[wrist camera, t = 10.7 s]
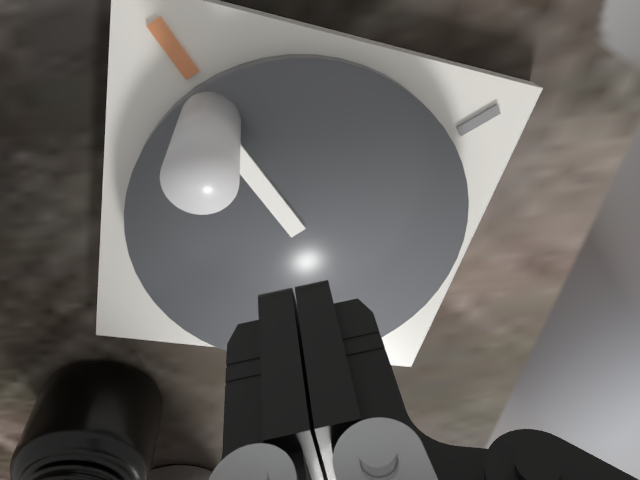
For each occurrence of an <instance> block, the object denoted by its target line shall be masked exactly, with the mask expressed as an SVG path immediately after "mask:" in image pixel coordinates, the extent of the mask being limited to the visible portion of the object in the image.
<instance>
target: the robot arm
mask: <svg viewBox="0 0 640 480" xmlns="http://www.w3.org/2000/svg"><path fill="white" fill-rule="evenodd" d="M295 294H296V299H295V296H294V292H293V289H292V288H288V289H283V290H279V291H274V292H269V293H265V294H260V295H258V316H259V320H255V321H250V322H245V323H241V324H238V325H237V327H236V328H235V330H234V332H233V334H232V336H231V338H230V340H229V341H228V343H227V360H226V365H227V368H226V386H225V407H224V431H223V452H222V459H221V462H220V463H219V464H218V465H217V466H216V468H215V469H214V470H213V472H211V471H209V470H207V469H204V468H200V467H196V466H187V465H173V466H166V467H161V468H157V469H154V470H151V473H150V477H149V480H638V479H636V478H634V477H633V476H631V475H629V474H627V473H625V472H623V471H621V470H619V469H617V468H615V467H614V466H612V465H610V464H608V463H606V462H604V461H602V460H601V459H599V458H597V457H595V456H593V455H591V454H589V453H587V452H585V451H584V450H582V449H580V448H578V447H576V446H574V445H572V444H570V443H568V442H567V441H565V440H563V439H561V438H559V437H557V436H555V435H552V434H550V433H547V432H543V431H539V430H533V429H520V430H515V431H510V432H508V433H506V434H503V435H501V436H500V437H499V438H497V439H496V440H495V441H494V442H493V443H492V444H491V446H490V447H489V449H483V448H472V447H461V446H453V445H448V444H444V443H441V442H438V441H436V440H434V439H431V438H430V437H428V436H426V435H425V434H424V433H422V432H421V431H420V430H419V429H418V428H417V427H416V426H415V425H414V424H413V423H412V421H411V420H410V418H409V416H408V414H407V412H406V409H405V406H404V403H403V400H402V397H401V394H400V391H399V388H398V385H397V382H396V379H395V376H394V373H393V370H392V367H391V364H390V361H389V358H388V356H387V353H386V351H385V347H384V344H383V341H382V338H381V335H380V332H379V329H378V326H377V323H376V320H375V317H374V314H373V312H372V311H371V310H370V309H369V308H368V307H367V306H366V305H365V304H363V303H362V302H361V301H360V300H359V299H358V298H357V299H352V300H347V301H343V302H338V303H333V298H332V294H331V290H330V286H329V282H328V280H325V281H320V282H316V283H311V284H306V285H301V286H297V287H295ZM296 301H297V303H296Z"/></svg>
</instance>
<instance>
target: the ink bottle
mask: <svg viewBox="0 0 640 480" xmlns="http://www.w3.org/2000/svg"><path fill="white" fill-rule="evenodd" d="M161 411H162V399H161V395H160V392H159V390H158V388H157V386H156V385H155V384H154V383H153V382H152V381H151V380H150V379H149V378H148V377H147V376H145V375H144V374H142V373H140V372H138V371H136V370H134V369H131V368H129V367H126V366H123V365H119V364H114V363H108V362H82V363H77V364H73V365H70V366H67V367H65V368H63V369H61V370H59V371H58V372H56V373H55V374H54V375H53V376H52V377H51V378H50V379H49V380H48V381H47V382H46V383H45V385H44V386H43V388H42V390H41V392H40V394H39V397H38V399H37V401H36V403H35V406H34V408H33V410H32V412H31V415H30V417H29V419H28V422H27V424H26V426H25V428H24V431H23V433H22V435H21V437H20V440H19V442H18V444H17V447H16V449H15V451H14V454H13V456H12V459H11V463H10V478H11V480H149V477H150V473H151V469H152V463H153V457H154V452H155V446H156V440H157V434H158V429H159V423H160V417H161Z"/></svg>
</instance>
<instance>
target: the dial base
mask: <svg viewBox="0 0 640 480" xmlns="http://www.w3.org/2000/svg"><path fill="white" fill-rule="evenodd" d="M287 54H316V55H323V56H330V57H337V58H342V59H345V60H349V61H352V62H356V63H359V64H363V65H365V66H367V67H370V68H372V69H374V70H376V71H378V72H381V73H383V74H385V75H387V76H388V77H390V78H391V79H393V80H394V81H396V82H398V83H399V84H401V85H402V86H404V87H405V88H406V89H407V90H409V91H410V92H411V93H412V94H413V95H414V96H415V97H417V98H418V99H419V100H420V101H421V102H422V103H423V104H424V105H425V106H426V107H427V108H428V109H429V110H430V111H431V112H432V114H433V115H434V116H435V117H436V118H437V119H438V121H439V122H440V123H441V124H442V125H443V127H444V128H445V130H446V131H447V133H448V135H449V136H450V138H451V140H452V141H453V143H454V145H455V147H456V149H457V151H458V154H459V156H460V159H461V161H462V164H463V168H464V172H465V176H466V180H467V186H468V198H469V208H468V222H467V227H466V232H465V236H464V241H463V244H462V246H461V249H460V252H459V255H458V258H457V260H456V262H455V264H454V265H453V267H452V269H451V271H450V273H449V275H448V277H447V278H446V279H445V281H444V282H443V284H442V285H441V287H440V288H439V290H438V291H437V292H436V293H435V294H434V296H433V297H432V298H431V299H430V300H429V301H428V303H427V304H426V305H425V306H424V307H423V308H421V309H420V310H419V311H418V312H417V313H416V314H415V315H414V316H413V317H412V318H410V319H409V320H408V321H406V322H405V323H404V324H402V325H401V326H400V327H398V328H397V329H395V330H393V331H392V332H390V333H389V334H387V335H385V336H384V337H382V341H383V344H384V347H385V351H386V353H387V356H388V358H389V361H390V364H391V365H398V366H408V367H411V366H412V364H413V362H414V359H415V357H416V355H417V353H418V351H419V349H420V347H421V345H422V343H423V340H424V338H425V336H426V334H427V332H428V330H429V328H430V326H431V324H432V321H433V319H434V317H435V315H436V313H437V311H438V309H439V307H440V304H441V302H442V300H443V298H444V296H445V294H446V292H447V290H448V288H449V285H450V283H451V281H452V279H453V277H454V275H455V273H456V271H457V269H458V266H459V264H460V262H461V260H462V258H463V256H464V254H465V252H466V250H467V247H468V245H469V243H470V241H471V239H472V237H473V235H474V233H475V231H476V228H477V226H478V224H479V222H480V220H481V218H482V216H483V214H484V212H485V209H486V207H487V205H488V203H489V201H490V199H491V197H492V195H493V193H494V190H495V188H496V186H497V184H498V182H499V180H500V178H501V176H502V174H503V171H504V169H505V167H506V165H507V163H508V161H509V159H510V157H511V154H512V152H513V150H514V148H515V146H516V144H517V142H518V140H519V138H520V135H521V133H522V131H523V129H524V127H525V125H526V123H527V121H528V119H529V116H530V114H531V112H532V110H533V108H534V106H535V104H536V102H537V100H538V97H539V95H540V93H541V91H542V89H543V88H541V87H539V86H538V85H536V84H534V83H532V82H530V81H527V80H523V79H519V78H515V77H512V76H508V75H504V74H500V73H496V72H492V71H489V70H485V69H481V68H477V67H473V66H469V65H465V64H462V63H458V62H454V61H450V60H446V59H442V58H439V57H435V56H431V55H427V54H423V53H419V52H416V51H412V50H408V49H404V48H400V47H396V46H393V45H389V44H385V43H381V42H377V41H373V40H370V39H366V38H362V37H358V36H354V35H350V34H347V33H343V32H339V31H335V30H331V29H327V28H324V27H320V26H316V25H312V24H308V23H304V22H300V21H297V20H293V19H289V18H285V17H281V16H277V15H274V14H270V13H266V12H262V11H258V10H254V9H251V8H247V7H243V6H239V5H235V4H231V3H228V2H224V1H220V0H111V16H110V38H109V59H108V81H107V103H106V124H105V146H104V167H103V189H102V211H101V232H100V254H99V275H98V297H97V319H96V335H101V336H111V337H121V338H131V339H140V340H150V341H160V342H170V343H180V344H190V345H200V346H210V347H215V346H213V345H210V344H208V343H206V342H204V341H202V340H200V339H198V338H197V337H195V336H193V335H192V334H190V333H188V332H187V331H185V330H184V329H182V328H181V327H180V326H179V325H177V324H176V323H175V322H174V321H172V320H171V319H170V318H169V317H168V316H167V315H166V314H165V313H164V312H163V311H162V310H161V309H160V308H159V307H158V306H157V305H156V304H155V303H154V301H153V300H152V298H151V297H150V296H149V294H148V293H147V292H146V290H145V289H144V287H143V285H142V284H141V282H140V280H139V278H138V276H137V274H136V273H135V270H134V267H133V265H132V262H131V259H130V257H129V254H128V249H127V244H126V239H125V233H124V207H125V198H126V191H127V188H128V184H129V181H130V177H131V174H132V171H133V169H134V166H135V164H136V162H137V160H138V158H139V156H140V153H141V151H142V149H143V147H144V145H145V143H146V140H147V139H148V137H149V136H150V134H151V133H152V131H153V130H154V128H155V127H156V125H157V124H158V122H159V121H160V120H161V118H162V117H163V116H164V115H165V114H166V113H167V112H168V111H169V110H170V108H171V107H172V106H173V105H174V104H175V103H176V102H177V101H179V100H180V99H181V98H182V97H183V96H185V95H186V94H187V93H188V92H189V91H191V90H192V89H193V88H194V87H196V86H198V85H199V84H201V83H203V82H204V81H206V80H207V79H209V78H211V77H212V76H214V75H216V74H218V73H220V72H223V71H225V70H227V69H230V68H232V67H234V66H237V65H239V64H243V63H246V62H250V61H253V60H257V59H261V58H265V57H272V56H280V55H287Z"/></svg>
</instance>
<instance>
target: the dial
mask: <svg viewBox="0 0 640 480" xmlns="http://www.w3.org/2000/svg"><path fill="white" fill-rule="evenodd" d="M468 208H469V198H468V186H467V180H466V176H465V172H464V168H463V164H462V161H461V159H460V156H459V154H458V151H457V149H456V147H455V145H454V143H453V141H452V140H451V138H450V136H449V135H448V133H447V131H446V130H445V128H444V127H443V125H442V124H441V123H440V122H439V121H438V119H437V118H436V117H435V116H434V115H433V114H432V112H431V111H430V110H429V109H428V108H427V107H426V106H425V105H424V104H423V103H422V102H421V101H420V100H419V99H418V98H417V97H415V96H414V95H413V94H412V93H411V92H410V91H409V90H407V89H406V88H405V87H404V86H402V85H401V84H399V83H398V82H396V81H394V80H393V79H391V78H390V77H388V76H387V75H385V74H383V73H381V72H378V71H376V70H374V69H372V68H370V67H367V66H365V65H363V64H359V63H356V62H352V61H349V60H345V59H342V58H337V57H330V56H323V55H316V54H287V55H280V56H272V57H265V58H261V59H257V60H253V61H250V62H246V63H243V64H239V65H237V66H234V67H232V68H230V69H227V70H225V71H223V72H220V73H218V74H216V75H214V76H212V77H211V78H209V79H207V80H206V81H204V82H203V83H201V84H199V85H198V86H196V87H194V88H193V89H192V90H191V91H189V92H188V93H187V94H186V95H185V96H183V97H182V98H181V99H180V100H179V101H177V102H176V103H175V104H174V105H173V106H172V107H171V108H170V110H169V111H168V112H167V113H166V114H165V115H164V116H163V117H162V118H161V120H160V121H159V122H158V124H157V125H156V127H155V128H154V130H153V131H152V133H151V134H150V136H149V137H148V139H147V140H146V143H145V145H144V147H143V149H142V151H141V153H140V156H139V158H138V160H137V162H136V164H135V166H134V169H133V171H132V174H131V177H130V181H129V184H128V188H127V191H126V198H125V207H124V233H125V239H126V244H127V249H128V254H129V257H130V259H131V262H132V265H133V267H134V270H135V273H136V274H137V276H138V278H139V280H140V282H141V284H142V285H143V287H144V289H145V290H146V292H147V293H148V294H149V296H150V297H151V298H152V300H153V301H154V303H155V304H156V305H157V306H158V307H159V308H160V309H161V310H162V311H163V312H164V313H165V314H166V315H167V316H168V317H169V318H170V319H171V320H172V321H174V322H175V323H176V324H177V325H179V326H180V327H181V328H182V329H184V330H185V331H187V332H188V333H190V334H192V335H193V336H195V337H197V338H198V339H200V340H202V341H204V342H206V343H208V344H210V345H213V346H215V347H217V348H219V349H222V350H225V351H227V343H228V341H229V340H230V338H231V336H232V334H233V332H234V330H235V328H236V327H237V325H238V324H241V323H245V322H250V321H255V320H259V316H258V295H260V294H265V293H269V292H274V291H279V290H283V289H288V288H292V289H293V292H294V296H295V299H296V294H295V287H297V286H301V285H306V284H311V283H316V282H320V281H325V280H328V282H329V286H330V290H331V294H332V298H333V303H338V302H343V301H347V300H352V299H357V298H358V299H359V300H360V301H361V302H362V303H363V304H365V305H366V306H367V307H368V308H369V309H370V310H371V311H372V312H373V314H374V317H375V320H376V323H377V326H378V329H379V332H380V335H381V338H382V337H384V336H385V335H387V334H389V333H390V332H392V331H393V330H395V329H397V328H398V327H400V326H401V325H402V324H404V323H405V322H406V321H408V320H409V319H410V318H412V317H413V316H414V315H415V314H416V313H417V312H418V311H419V310H420V309H421V308H423V307H424V306H425V305H426V304H427V303H428V301H429V300H430V299H431V298H432V297H433V296H434V294H435V293H436V292H437V291H438V290H439V288H440V287H441V285H442V284H443V282H444V281H445V279H446V278H447V277H448V275H449V273H450V271H451V269H452V267H453V265H454V264H455V262H456V260H457V258H458V255H459V252H460V249H461V246H462V244H463V241H464V236H465V232H466V227H467V222H468ZM296 303H297V301H296Z"/></svg>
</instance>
